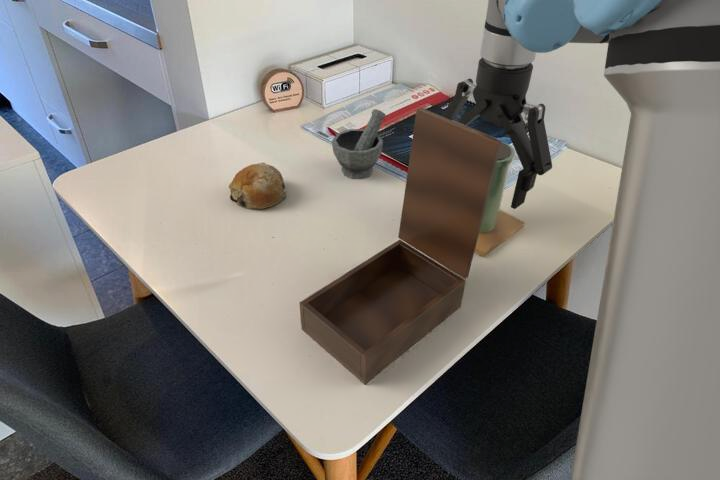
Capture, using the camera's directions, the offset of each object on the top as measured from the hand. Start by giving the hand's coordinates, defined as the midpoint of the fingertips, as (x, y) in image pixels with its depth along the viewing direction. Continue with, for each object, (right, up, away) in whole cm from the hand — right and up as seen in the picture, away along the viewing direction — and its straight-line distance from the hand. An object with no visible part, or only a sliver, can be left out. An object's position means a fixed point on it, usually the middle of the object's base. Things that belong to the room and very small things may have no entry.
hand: (482, 188), depth 86 cm
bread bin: (-17, -20, -12) cm, 29 cm away
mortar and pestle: (-20, +5, +19) cm, 28 cm away
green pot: (0, -5, +4) cm, 7 cm away
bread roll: (-39, -1, +11) cm, 41 cm away
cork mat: (0, -6, +5) cm, 8 cm away
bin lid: (-9, -3, -17) cm, 19 cm away
